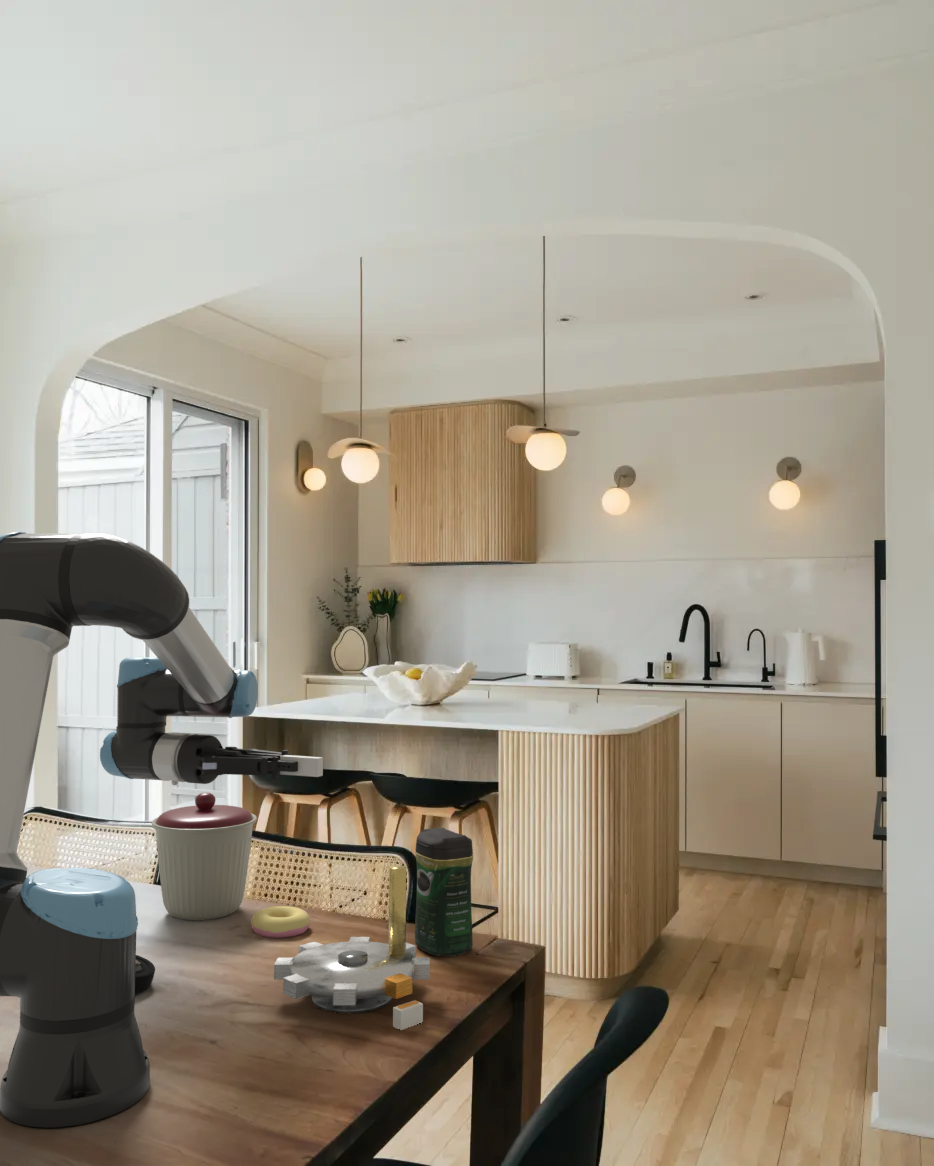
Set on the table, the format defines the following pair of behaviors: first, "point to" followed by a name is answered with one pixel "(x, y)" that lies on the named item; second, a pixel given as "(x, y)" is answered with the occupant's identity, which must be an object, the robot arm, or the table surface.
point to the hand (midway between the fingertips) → (320, 767)
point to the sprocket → (358, 961)
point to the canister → (203, 858)
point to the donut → (280, 922)
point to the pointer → (407, 1015)
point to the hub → (360, 1007)
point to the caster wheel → (143, 974)
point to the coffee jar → (443, 892)
